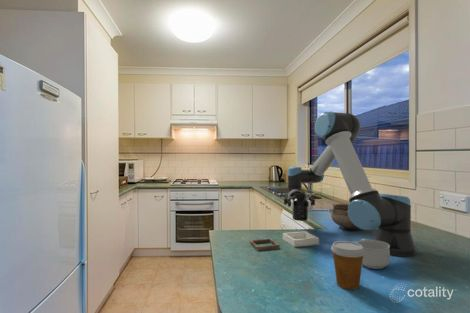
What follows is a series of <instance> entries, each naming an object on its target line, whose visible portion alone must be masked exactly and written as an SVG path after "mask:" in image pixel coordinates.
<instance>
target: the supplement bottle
mask: <svg viewBox="0 0 470 313" xmlns="http://www.w3.org/2000/svg"><path fill="white" fill-rule="evenodd" d="M294 197H295V199H293V208H292V219H293V220H295V221H298V222H303V221H304V222H305V221H307V220H309V215H308V214H309V211H308V210H309V207H308V201H307V200H306V199H305V197H306V193H305V192H302V193H295V196H294ZM306 198H307V197H306Z"/></svg>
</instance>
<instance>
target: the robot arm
mask: <svg viewBox="0 0 470 313" xmlns="http://www.w3.org/2000/svg"><path fill="white" fill-rule="evenodd" d="M315 120H316V121H315V123H314V131H315V134H316V136H317V137H319V138H323V140H324V142H325V144H326V145H327V146H326V148H325V149H324V150H323V151H322V152H321V154H320V155H319V157H318V158H317V159H316V160H315V162H314V163H313V164H312V165H311V166H310V168H309V169H302V166H289V167H288V168H287V193H286V194H287V195H285V196H283V205H285V206H286V205H287V207H291V209H293V199H295V197H294V196H295V193H303V191H302V184H318V183H322V182H323V181H324V178H325V172H327V170H328V169H329V168H330V167H331V166H332V165H333V163H334V162H335V161H336V163H337V164H338V167H339V170H340V172H341V175H342V176H343V179H344V182H345V184H346V187H347V189H348V192H349V195H350V196H349V198H348V202H349V203H348V204H349V205H348V216H349V218H350V220H351V222H352V223H353V224H354V225H355V226H357V227H359V228H358V229H360V230H366V231H369V230H370V231H373V230H376V229H378V231H377V234H376V237H375V240H378V241H383V242H386V243H388V244H389V245H390V256H397V257H412V256H416V254H417V247H416V245H415V242H414V238H413V236H412V231H411V229H412V225H411V223H412V222H411V221H412V220H411V219H412V218H411V217H412V216H411V215H412V214H411V211H412V208H411V207H412V205H411V199H410V197H408V196H404V195H398V194H397V195H395V194H386V193H380V192H379V191H378V189H375V188H373V187H372V184H371V183H370V181H369V178H368V176H367V174H366V172H365V169H364V168H363V165H362V163H361V160H360V158H359V156H358V154H357V152H356V150H355V147H354V145H353V143H354V142H355V141H356V139H357V137H358V136H359V135H360V131H361V122H360V119H359V118H358V117H357V116H356V115H354V114H352V113H349V112H334V111H323V112H321V113H320V114H319V115H318V116H317V118H316V119H315ZM305 199H306V200H307V201H308V209H311V208H312V206H315V205H316V200H315V199H314V198H313V197H311V196H308V197H305Z"/></svg>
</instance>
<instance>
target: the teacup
mask: <svg viewBox="0 0 470 313" xmlns="http://www.w3.org/2000/svg"><path fill="white" fill-rule="evenodd" d="M355 243H358V244H360V245H362V246H363V249H364V251H365V253H364V255H363V260H362V265H363V266H365V268H369V269H374V270H380V269H383V268H385V267H386V266H388V265H389V264H390V261H391V255H390V245H389V244H388V243H386V242H383V241H378V240H376V239H366V238H361V239H360V240H357V241H356V242H355Z"/></svg>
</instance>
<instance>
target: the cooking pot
mask: <svg viewBox="0 0 470 313" xmlns="http://www.w3.org/2000/svg"><path fill="white" fill-rule="evenodd" d="M349 204H350V203H345V202H343V203H333V204H332V208H329V209H328V210H327V211H328V213H330V217H331V219H332V221H333V222H334V223H335V224H336V225H338V226H339V227H340V228H342V229H344V230H347V229H350V230H349V231H354V230H355V229H356V230H358V229H360V228H359V227H357V226H355V225H354V224H353V223H352V222H351V220H350V218H349V216H348V205H349Z"/></svg>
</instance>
